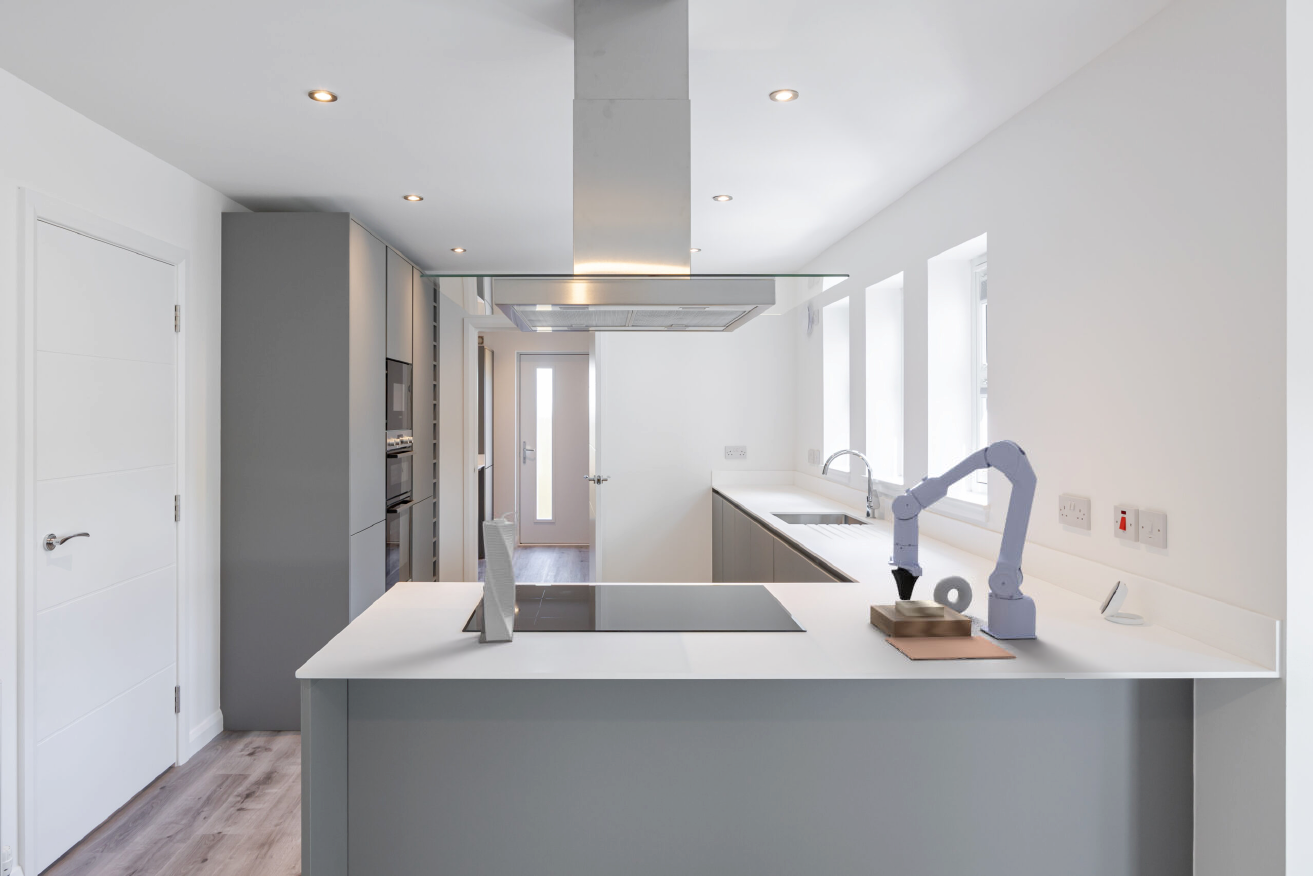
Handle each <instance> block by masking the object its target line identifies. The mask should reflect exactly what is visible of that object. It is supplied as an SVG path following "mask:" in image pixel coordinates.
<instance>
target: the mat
mask: <svg viewBox="0 0 1313 876" xmlns="http://www.w3.org/2000/svg"><path fill="white" fill-rule="evenodd" d="M884 640H885V641H886V640H887V641H886V642H888V643H889V642H890V643H891V644H892V646H893V645H894V646H895V647H896V648H895V647H894V646H893V647H894V648H895V649H897V648H898V649H899V650H901V651H902V652H903V653H905V654H906V655H907V656H909V658H908V659H910V658H911V659H912V660H911V659H910V660H911V661H914V660H913V659H939V660H959V659H958V658H986V659H1015V658H1016V655H1015V654H1012V653H1011V652H1010V651H1007V650H1006V649H1004V648H1002V647H1000V646H999V645H997V644H995V643H993V642H992V641H991V640H988V639H987V638H985V637H984V636H981V635H976V636H975V635H971V636H958V637H904V638H891V637H884ZM890 643H889V644H890ZM891 644H890V645H891ZM898 649H897V650H898ZM899 650H898V651H899ZM901 651H900V652H901ZM902 652H901V653H902ZM903 653H902V654H903ZM906 655H905V656H906ZM907 656H906V657H907ZM947 658H948V659H947Z"/></svg>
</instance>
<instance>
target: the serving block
mask: <svg viewBox="0 0 1313 876" xmlns="http://www.w3.org/2000/svg"><path fill="white" fill-rule="evenodd" d="M940 605H942V606H944V615H943V616H905V615H903V614H902V613H900V612H899V611H897V610H896V609H895V604H883V605H881V604H875V605H874V604H872V605H871V604H870V610H869V611H870V612H869V613H870V614H869V615H870V617H869V619H870V620H869V621H870V623H871V624H872V625H874V626H875V627H876V626H877V627H876V628H878V629H879V628H880V629H881V630H880V629H879V630H880V631H882V632H883V631H884V632H885V633H884V632H883V633H884V634H886V633H887V634H888V635H887V634H886V635H887V636H889V635H890V636H891V637H892V638H904V637H958V636H972V625H973V624H972V622H973V621H972V620H973V619H971V618H969V617H968V616H966V615H964V614H962V613H958V612H956V611H954V610H952V609H951V608H949V607H947V606H945V605H943V604H940ZM890 636H889V637H890ZM891 637H890V638H891Z"/></svg>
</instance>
